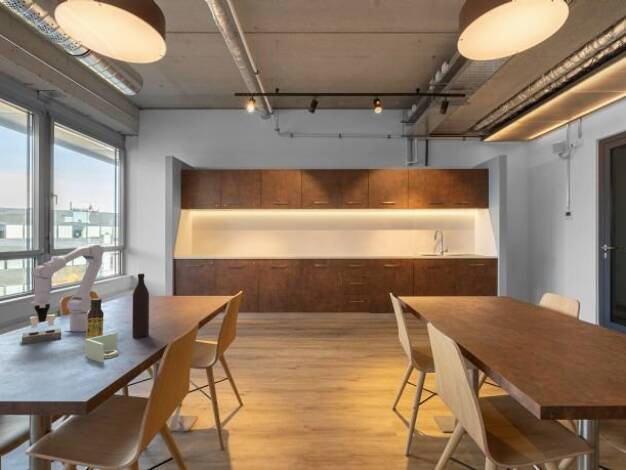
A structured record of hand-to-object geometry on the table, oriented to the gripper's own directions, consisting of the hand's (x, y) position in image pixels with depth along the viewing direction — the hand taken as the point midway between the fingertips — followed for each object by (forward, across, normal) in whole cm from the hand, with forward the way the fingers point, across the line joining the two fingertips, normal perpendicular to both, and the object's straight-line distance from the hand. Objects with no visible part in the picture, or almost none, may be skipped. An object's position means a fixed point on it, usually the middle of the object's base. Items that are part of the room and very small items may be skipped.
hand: (42, 320), depth 158 cm
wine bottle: (+9, +22, +37) cm, 44 cm away
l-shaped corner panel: (+9, +43, +21) cm, 49 cm away
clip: (+2, 0, 0) cm, 2 cm away
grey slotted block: (+8, 0, 0) cm, 8 cm away
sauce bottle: (+9, +22, +18) cm, 30 cm away
